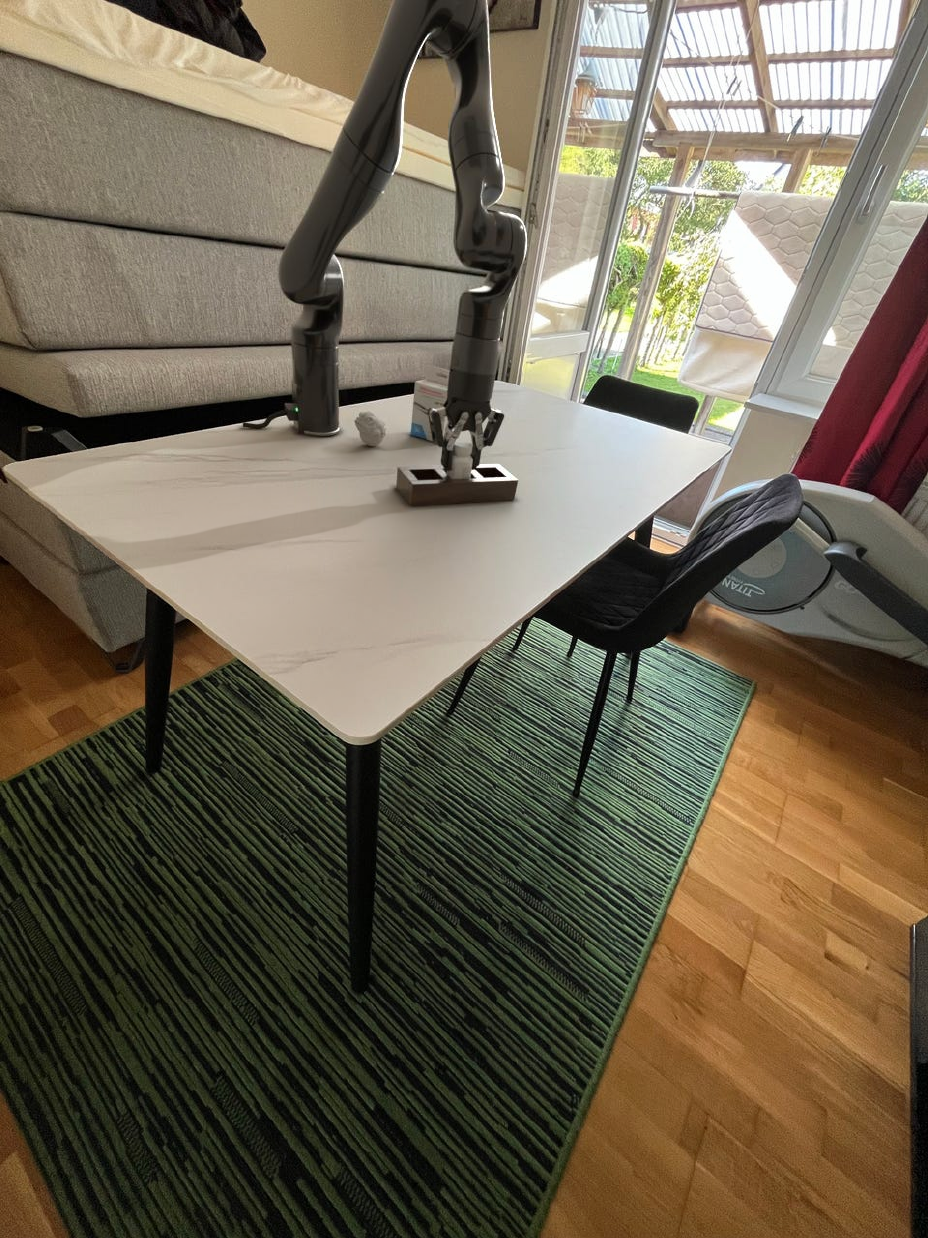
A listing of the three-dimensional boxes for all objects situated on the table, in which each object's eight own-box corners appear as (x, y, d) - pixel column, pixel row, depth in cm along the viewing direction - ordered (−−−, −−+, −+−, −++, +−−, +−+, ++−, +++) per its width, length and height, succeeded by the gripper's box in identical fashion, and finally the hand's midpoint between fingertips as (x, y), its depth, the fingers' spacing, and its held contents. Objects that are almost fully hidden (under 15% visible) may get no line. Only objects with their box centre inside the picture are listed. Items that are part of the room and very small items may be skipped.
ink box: (409, 435, 120) (414, 366, 111) (419, 430, 124) (425, 363, 115) (442, 444, 118) (449, 375, 109) (451, 439, 121) (459, 372, 113)
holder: (514, 500, 98) (518, 480, 95) (410, 506, 89) (412, 484, 87) (495, 483, 103) (498, 463, 101) (396, 487, 95) (397, 466, 92)
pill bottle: (469, 483, 97) (476, 442, 93) (467, 492, 94) (474, 449, 89) (446, 479, 97) (452, 438, 93) (443, 487, 94) (449, 445, 89)
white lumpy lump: (348, 442, 110) (348, 408, 106) (375, 439, 114) (376, 406, 110) (363, 452, 107) (364, 417, 103) (391, 448, 111) (393, 415, 107)
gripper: (501, 363, 89) (485, 460, 99) (424, 358, 83) (415, 461, 93) (522, 374, 84) (503, 475, 94) (441, 369, 78) (430, 478, 88)
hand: (459, 468), depth 93 cm, fingers closed on pill bottle, 4 cm apart
